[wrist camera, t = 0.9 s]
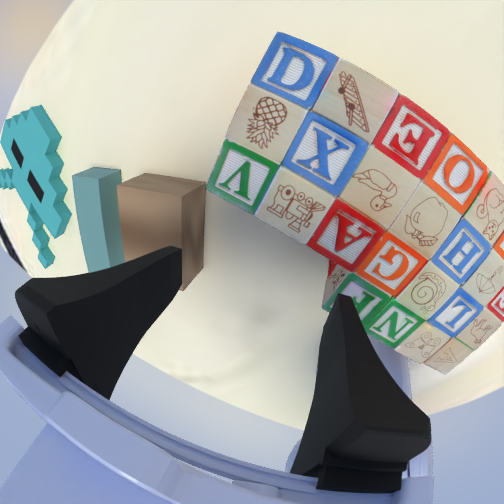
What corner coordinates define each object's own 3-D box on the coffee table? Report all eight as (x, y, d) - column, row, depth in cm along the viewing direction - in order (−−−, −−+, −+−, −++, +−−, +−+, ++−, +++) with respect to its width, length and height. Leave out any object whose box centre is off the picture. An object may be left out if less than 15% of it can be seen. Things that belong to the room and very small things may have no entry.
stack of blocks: (296, 53, 14) (225, 200, 21) (276, 26, 9) (185, 233, 16) (516, 223, 14) (431, 324, 20) (555, 261, 8) (443, 377, 15)
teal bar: (143, 335, 34) (131, 349, 31) (121, 324, 34) (109, 338, 32) (120, 170, 22) (98, 179, 20) (93, 167, 23) (72, 175, 21)
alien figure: (54, 261, 35) (92, 175, 24) (45, 268, 33) (77, 181, 22) (3, 176, 31) (29, 79, 20) (-6, 180, 29) (17, 81, 19)
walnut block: (204, 266, 25) (183, 291, 22) (150, 250, 26) (126, 271, 23) (207, 181, 21) (181, 196, 17) (146, 172, 22) (116, 185, 19)
